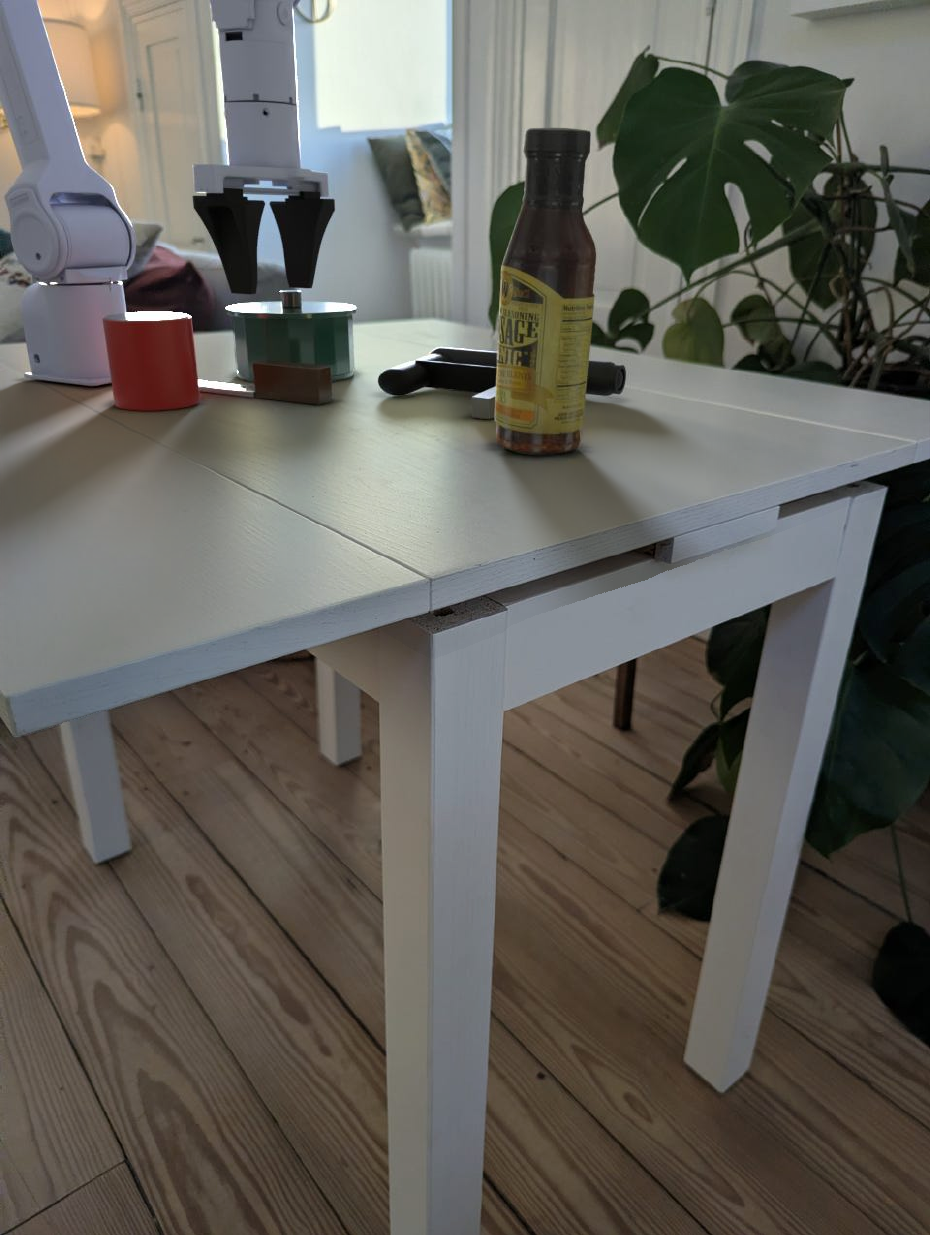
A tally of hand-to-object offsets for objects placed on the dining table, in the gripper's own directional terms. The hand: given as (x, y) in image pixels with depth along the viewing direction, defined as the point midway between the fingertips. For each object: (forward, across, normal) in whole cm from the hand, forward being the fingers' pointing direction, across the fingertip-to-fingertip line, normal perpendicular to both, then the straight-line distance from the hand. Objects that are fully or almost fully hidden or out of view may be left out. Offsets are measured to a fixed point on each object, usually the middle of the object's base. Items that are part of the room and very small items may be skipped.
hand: (273, 290), depth 76 cm
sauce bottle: (+9, -6, -27) cm, 29 cm away
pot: (+9, +11, +7) cm, 16 cm away
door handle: (+9, +9, -16) cm, 21 cm away
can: (+9, -7, +8) cm, 14 cm away
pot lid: (+3, +11, +7) cm, 14 cm away
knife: (+9, 0, +3) cm, 10 cm away
